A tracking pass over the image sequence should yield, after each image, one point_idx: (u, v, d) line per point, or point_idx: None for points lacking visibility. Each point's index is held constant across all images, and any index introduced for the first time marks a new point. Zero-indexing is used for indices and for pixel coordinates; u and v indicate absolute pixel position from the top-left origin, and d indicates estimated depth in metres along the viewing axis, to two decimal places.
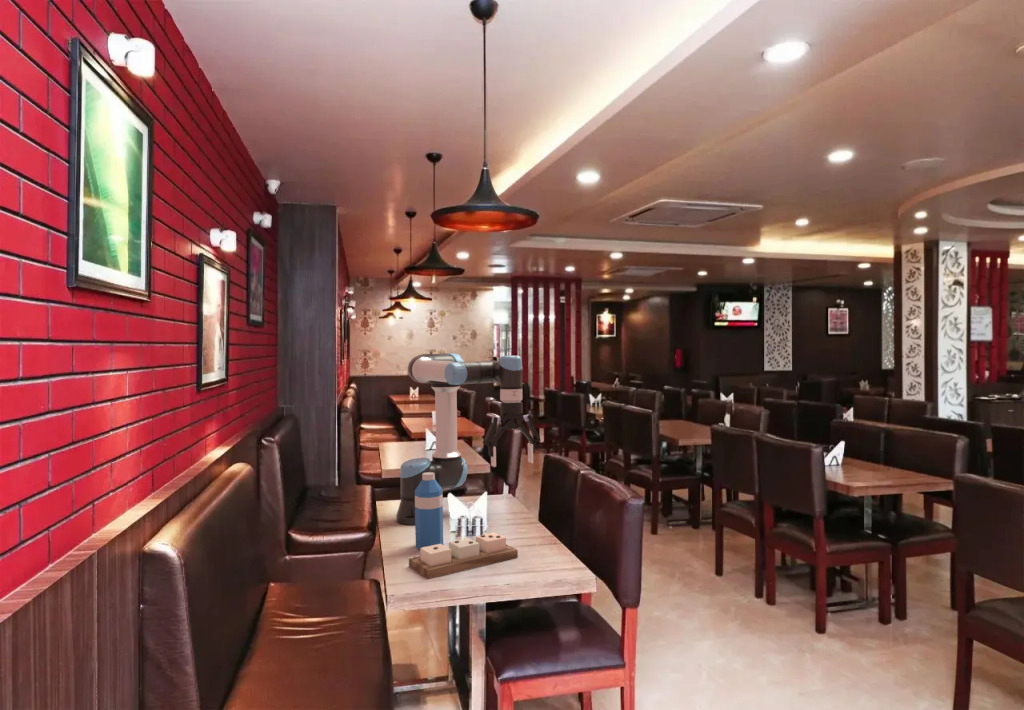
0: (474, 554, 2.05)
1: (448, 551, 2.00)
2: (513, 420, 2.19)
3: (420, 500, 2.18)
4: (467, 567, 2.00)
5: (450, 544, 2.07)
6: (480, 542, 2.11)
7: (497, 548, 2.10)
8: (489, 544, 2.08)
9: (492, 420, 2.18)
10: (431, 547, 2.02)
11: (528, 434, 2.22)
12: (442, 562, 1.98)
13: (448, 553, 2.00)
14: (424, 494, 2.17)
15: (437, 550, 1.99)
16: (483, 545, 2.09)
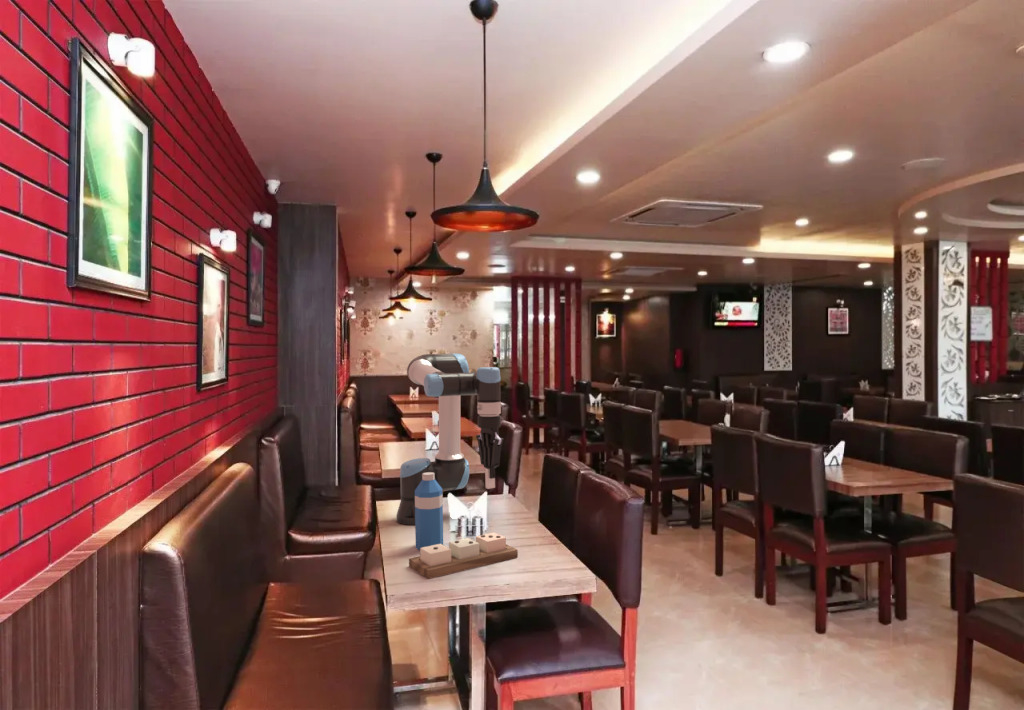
0: (474, 554, 2.05)
1: (448, 551, 2.00)
2: None
3: (420, 500, 2.18)
4: (467, 567, 2.00)
5: (450, 544, 2.07)
6: (480, 542, 2.11)
7: (497, 548, 2.10)
8: (489, 544, 2.08)
9: None
10: (431, 547, 2.02)
11: (488, 456, 2.10)
12: (442, 562, 1.98)
13: (448, 553, 2.00)
14: (424, 494, 2.17)
15: (437, 550, 1.99)
16: (483, 545, 2.09)
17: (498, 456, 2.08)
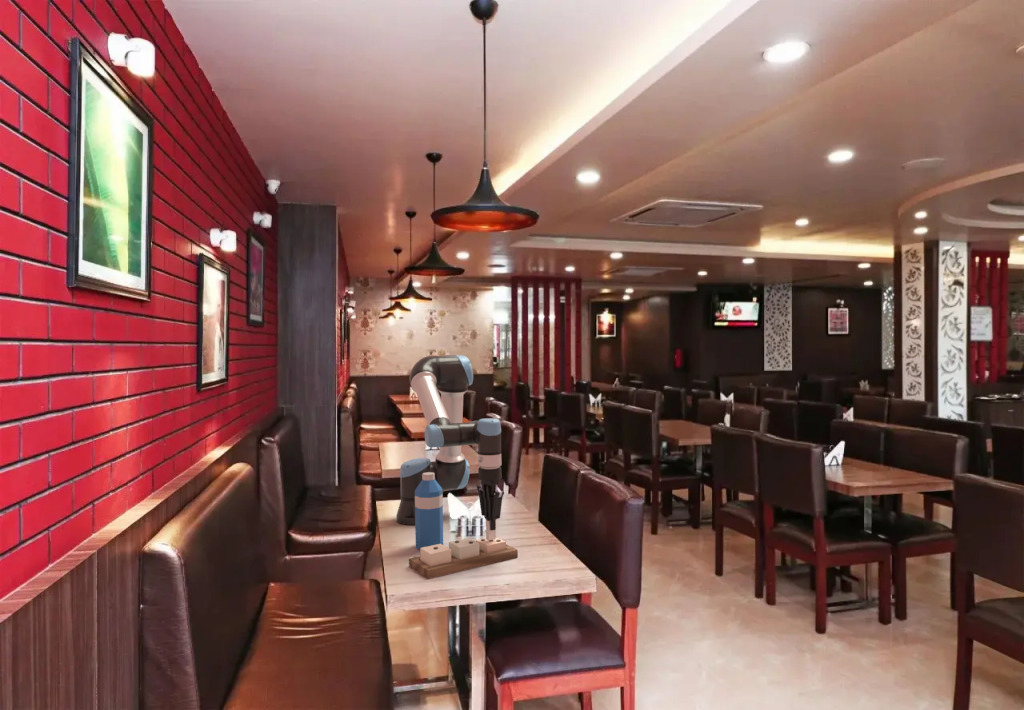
0: (474, 554, 2.05)
1: (448, 551, 2.00)
2: None
3: (420, 500, 2.18)
4: (467, 567, 2.00)
5: (450, 544, 2.07)
6: (480, 545, 2.11)
7: None
8: (489, 548, 2.08)
9: None
10: (431, 547, 2.02)
11: (489, 508, 2.10)
12: (442, 562, 1.98)
13: (448, 553, 2.00)
14: (424, 494, 2.17)
15: (437, 550, 1.99)
16: (484, 549, 2.09)
17: (499, 508, 2.08)
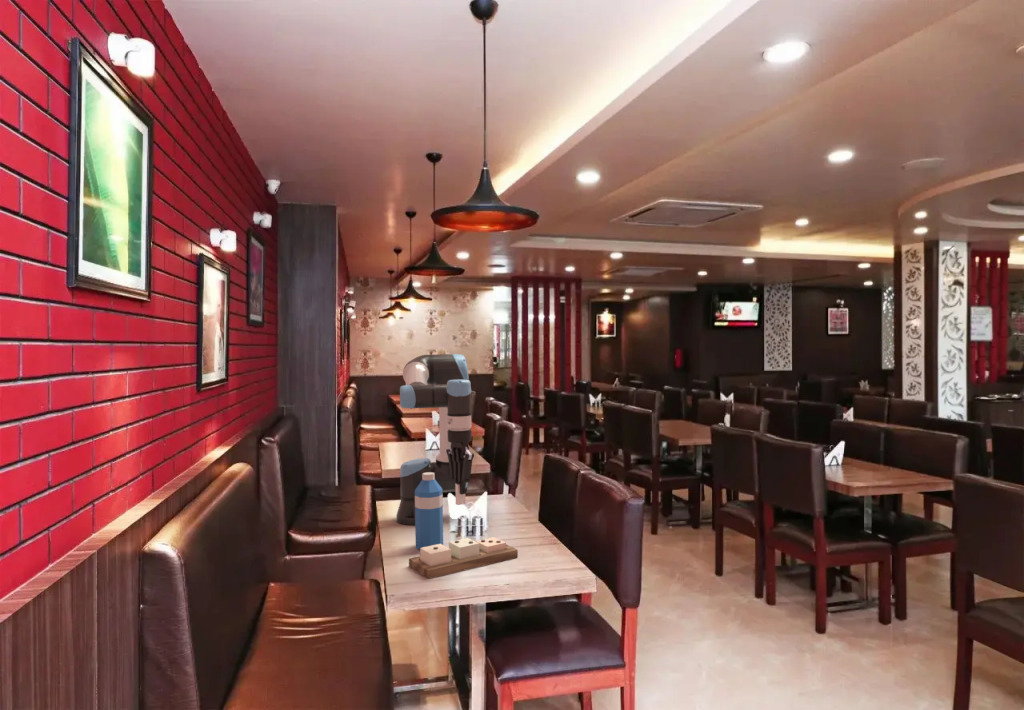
0: (474, 554, 2.05)
1: (448, 551, 2.00)
2: None
3: (420, 500, 2.18)
4: (467, 567, 2.00)
5: (450, 544, 2.07)
6: (480, 547, 2.11)
7: None
8: (489, 549, 2.08)
9: None
10: (431, 547, 2.02)
11: (459, 471, 2.03)
12: (442, 562, 1.98)
13: (448, 553, 2.00)
14: (424, 494, 2.17)
15: (437, 550, 1.99)
16: (484, 550, 2.09)
17: (469, 471, 2.02)
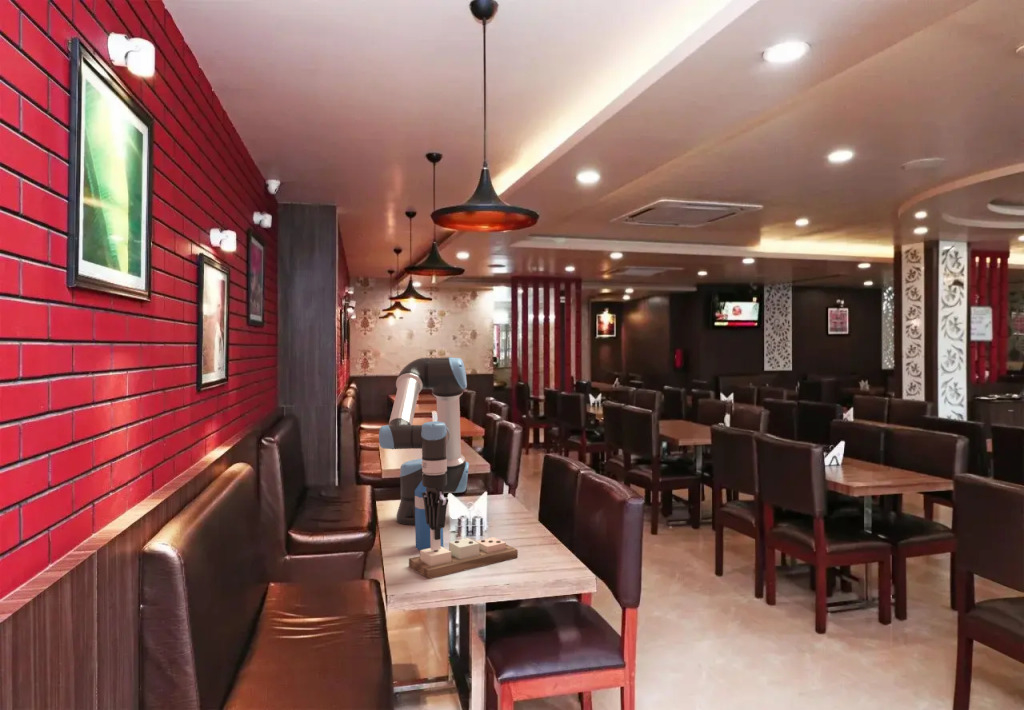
0: (474, 554, 2.05)
1: (448, 553, 2.00)
2: None
3: (420, 500, 2.18)
4: (467, 567, 2.00)
5: (450, 544, 2.07)
6: (480, 547, 2.11)
7: None
8: (489, 549, 2.08)
9: None
10: None
11: (433, 516, 1.99)
12: None
13: (448, 555, 2.00)
14: None
15: (437, 552, 1.99)
16: (484, 550, 2.09)
17: (443, 517, 1.97)
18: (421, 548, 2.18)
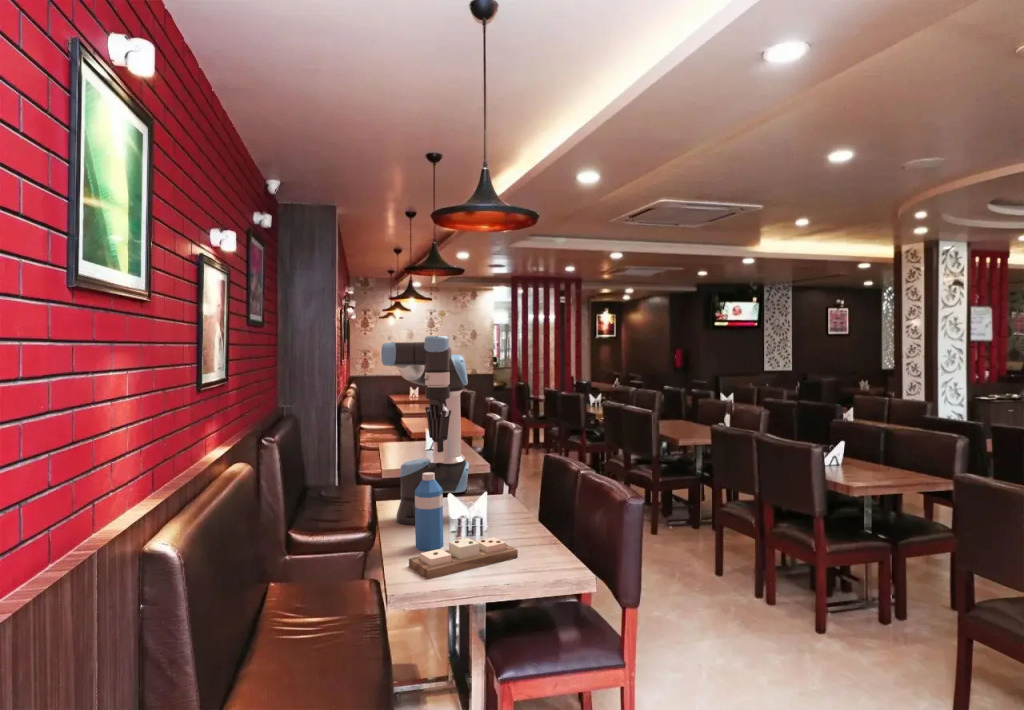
0: (474, 554, 2.05)
1: (448, 556, 2.00)
2: None
3: (420, 500, 2.18)
4: (467, 567, 2.00)
5: (450, 544, 2.07)
6: (480, 547, 2.11)
7: None
8: (489, 549, 2.08)
9: None
10: (431, 552, 2.02)
11: (436, 428, 2.00)
12: None
13: (448, 558, 2.00)
14: (424, 494, 2.17)
15: (437, 555, 1.99)
16: (484, 550, 2.09)
17: (446, 429, 1.98)
18: (421, 548, 2.18)
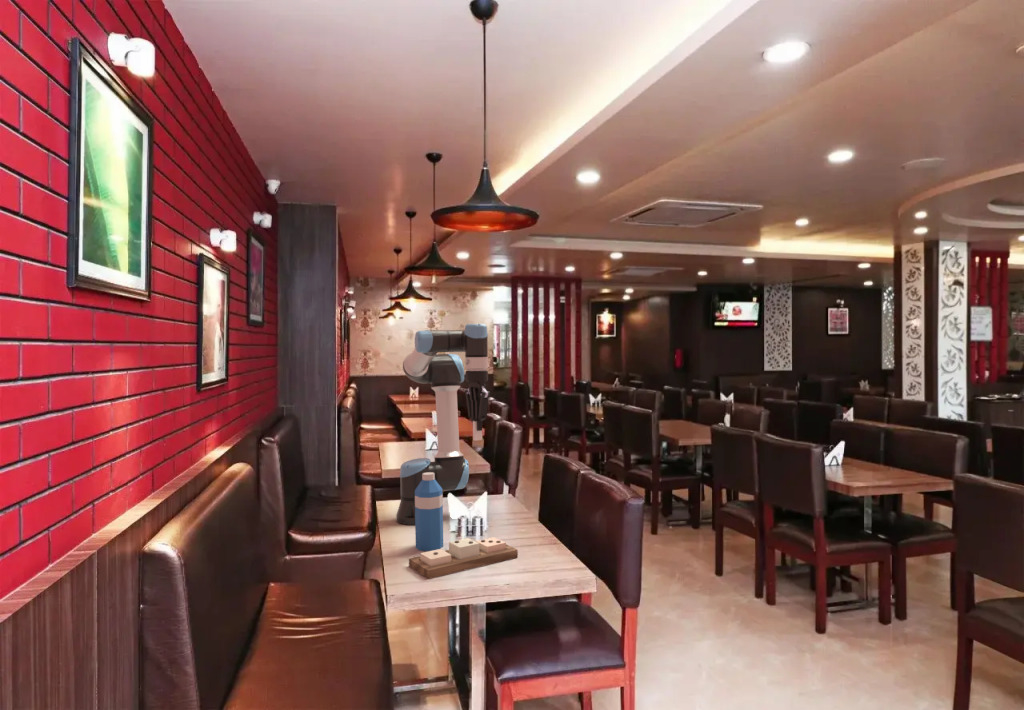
0: (474, 554, 2.05)
1: (448, 556, 2.00)
2: None
3: (420, 500, 2.18)
4: (467, 567, 2.00)
5: (450, 544, 2.07)
6: (480, 547, 2.11)
7: None
8: (489, 549, 2.08)
9: None
10: (431, 552, 2.02)
11: (476, 409, 2.17)
12: None
13: (448, 558, 2.00)
14: (424, 494, 2.17)
15: (437, 555, 1.99)
16: (484, 550, 2.09)
17: (485, 409, 2.16)
18: (421, 548, 2.18)
